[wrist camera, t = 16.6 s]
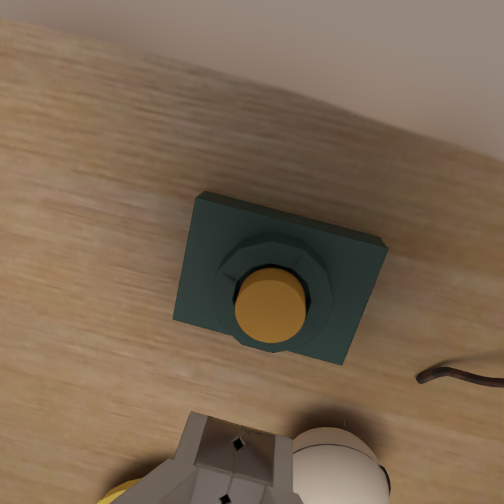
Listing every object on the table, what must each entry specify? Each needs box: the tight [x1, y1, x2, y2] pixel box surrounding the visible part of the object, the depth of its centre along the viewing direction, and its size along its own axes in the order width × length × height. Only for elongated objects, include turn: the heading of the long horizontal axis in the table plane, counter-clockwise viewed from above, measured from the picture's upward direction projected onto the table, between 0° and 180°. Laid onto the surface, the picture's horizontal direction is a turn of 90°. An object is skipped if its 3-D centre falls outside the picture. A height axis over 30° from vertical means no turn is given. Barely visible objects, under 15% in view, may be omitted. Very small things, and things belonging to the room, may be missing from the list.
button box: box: [173, 191, 388, 365], centre depth 22 cm, size 11×8×4 cm
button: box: [235, 268, 306, 343], centre depth 19 cm, size 4×4×2 cm
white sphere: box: [293, 420, 391, 504], centre depth 24 cm, size 10×7×7 cm
